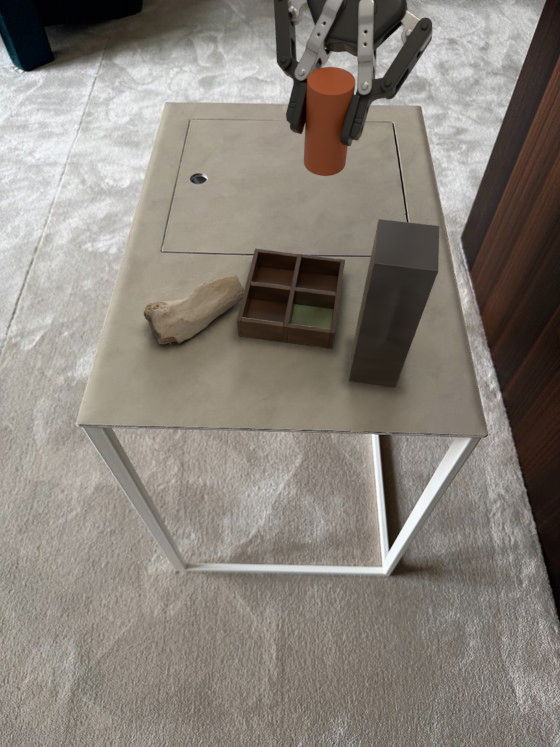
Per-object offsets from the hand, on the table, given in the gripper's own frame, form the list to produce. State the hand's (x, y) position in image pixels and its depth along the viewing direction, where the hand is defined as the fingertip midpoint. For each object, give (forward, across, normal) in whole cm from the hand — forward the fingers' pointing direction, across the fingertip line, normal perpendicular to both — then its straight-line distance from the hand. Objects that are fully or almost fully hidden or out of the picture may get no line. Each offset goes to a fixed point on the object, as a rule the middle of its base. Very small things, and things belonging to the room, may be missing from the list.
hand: (320, 136), depth 47 cm
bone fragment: (+23, -16, +20) cm, 34 cm away
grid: (+18, -4, +24) cm, 31 cm away
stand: (+22, +10, +21) cm, 32 cm away
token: (+1, 0, +4) cm, 4 cm away
